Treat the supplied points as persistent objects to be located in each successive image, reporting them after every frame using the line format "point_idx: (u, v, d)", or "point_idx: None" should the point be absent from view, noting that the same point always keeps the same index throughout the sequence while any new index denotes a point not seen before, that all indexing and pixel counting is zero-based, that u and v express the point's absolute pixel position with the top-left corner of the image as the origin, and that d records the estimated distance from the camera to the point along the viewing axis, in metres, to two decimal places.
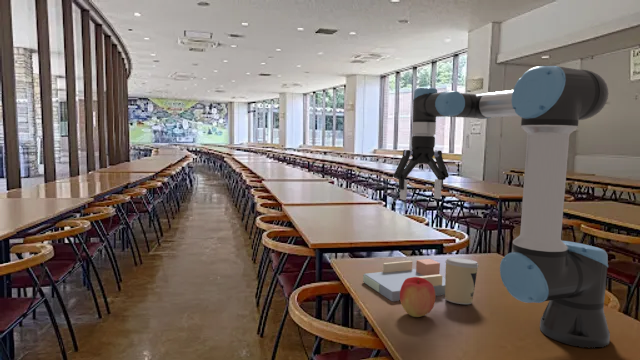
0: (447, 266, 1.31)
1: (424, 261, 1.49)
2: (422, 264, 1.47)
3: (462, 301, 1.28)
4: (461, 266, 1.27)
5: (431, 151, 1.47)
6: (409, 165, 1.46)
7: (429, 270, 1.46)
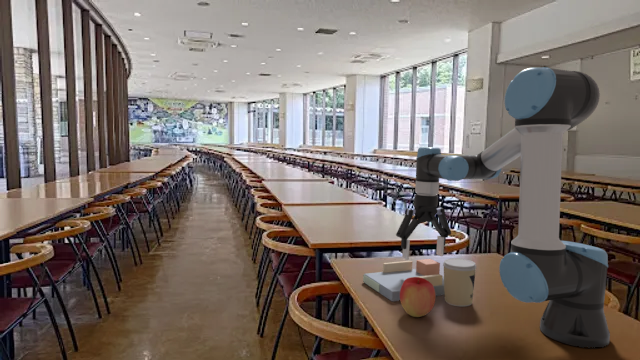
0: (445, 270, 1.30)
1: (424, 261, 1.49)
2: (422, 264, 1.47)
3: (462, 303, 1.28)
4: (459, 270, 1.26)
5: (434, 209, 1.47)
6: (412, 224, 1.45)
7: (429, 270, 1.46)
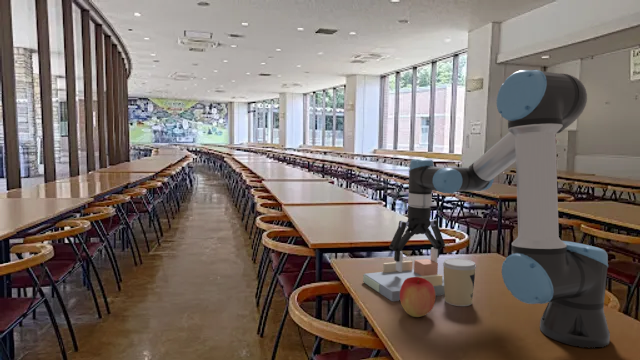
0: (445, 269, 1.30)
1: (422, 261, 1.49)
2: (420, 264, 1.47)
3: (463, 303, 1.28)
4: (460, 269, 1.27)
5: (427, 221, 1.46)
6: (405, 236, 1.45)
7: (426, 270, 1.46)
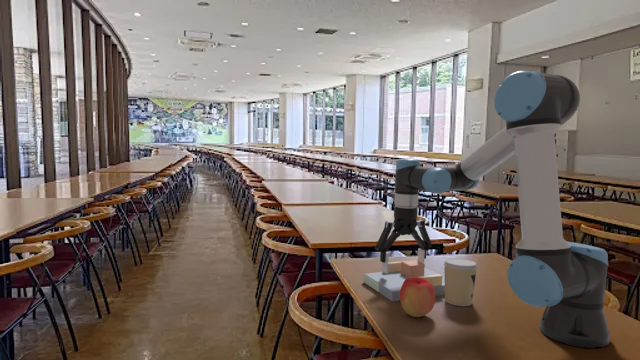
0: (446, 269, 1.30)
1: (409, 262, 1.47)
2: (406, 265, 1.45)
3: (463, 303, 1.28)
4: (461, 269, 1.27)
5: (414, 222, 1.44)
6: (391, 237, 1.43)
7: (413, 271, 1.44)
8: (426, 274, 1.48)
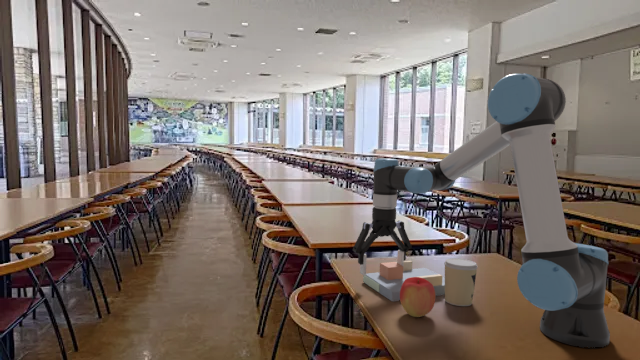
0: (447, 269, 1.30)
1: (387, 264, 1.44)
2: (385, 267, 1.43)
3: (463, 303, 1.28)
4: (462, 269, 1.27)
5: (392, 223, 1.41)
6: (369, 238, 1.40)
7: (391, 273, 1.41)
8: (426, 274, 1.48)
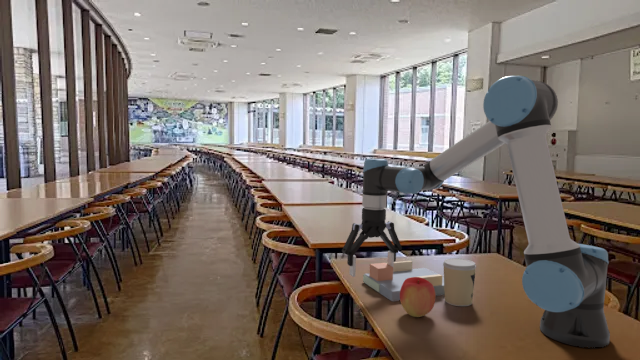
0: (446, 270, 1.30)
1: (377, 265, 1.43)
2: (374, 268, 1.41)
3: (463, 303, 1.28)
4: (461, 270, 1.26)
5: (382, 224, 1.40)
6: (358, 239, 1.38)
7: (381, 274, 1.40)
8: (426, 274, 1.48)
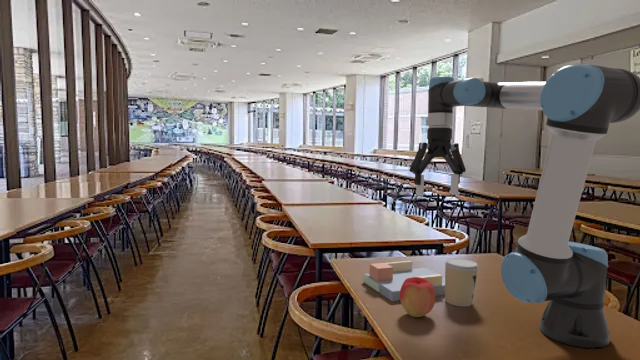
0: (448, 270, 1.29)
1: (377, 265, 1.43)
2: (374, 268, 1.41)
3: (464, 303, 1.28)
4: (463, 270, 1.26)
5: (448, 144, 1.39)
6: (425, 159, 1.37)
7: (381, 274, 1.40)
8: (426, 274, 1.48)
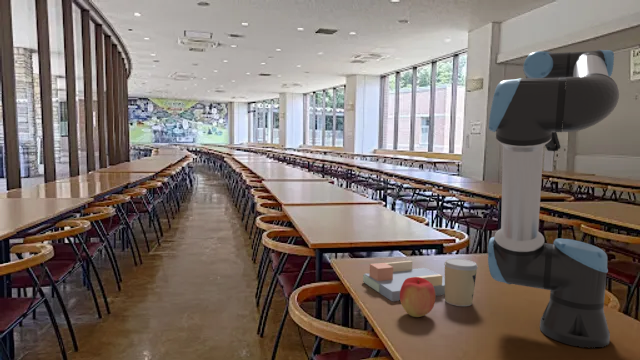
0: (448, 270, 1.29)
1: (377, 265, 1.43)
2: (374, 268, 1.41)
3: (464, 303, 1.28)
4: (463, 269, 1.26)
5: None
6: None
7: (381, 274, 1.40)
8: (426, 274, 1.48)
